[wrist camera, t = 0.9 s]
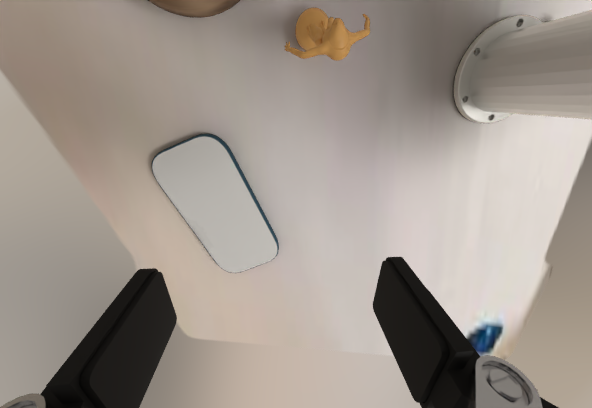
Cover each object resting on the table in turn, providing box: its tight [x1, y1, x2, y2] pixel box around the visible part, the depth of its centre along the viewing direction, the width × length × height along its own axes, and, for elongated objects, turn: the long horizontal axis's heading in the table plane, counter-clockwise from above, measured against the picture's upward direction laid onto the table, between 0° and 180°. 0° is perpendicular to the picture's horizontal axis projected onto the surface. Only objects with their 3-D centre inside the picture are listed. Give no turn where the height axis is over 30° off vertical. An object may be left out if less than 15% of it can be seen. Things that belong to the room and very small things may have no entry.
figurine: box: [285, 8, 370, 60], centre depth 22 cm, size 8×6×12 cm
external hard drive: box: [152, 134, 279, 273], centre depth 36 cm, size 24×12×2 cm, turn 21°
